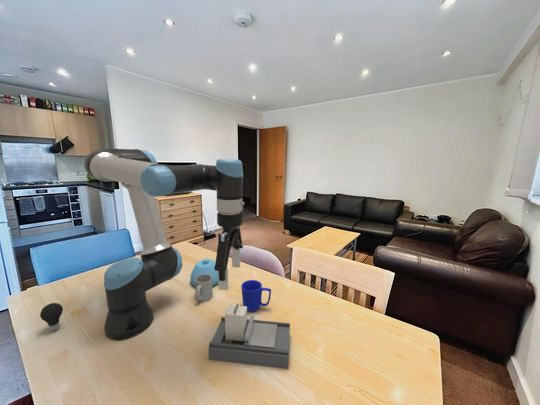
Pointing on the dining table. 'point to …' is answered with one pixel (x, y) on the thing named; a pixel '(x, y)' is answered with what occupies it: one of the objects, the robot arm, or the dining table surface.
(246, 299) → the mug
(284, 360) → the sliding lid box
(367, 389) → the dining table surface
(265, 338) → the plate
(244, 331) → the plug
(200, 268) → the sugar bowl
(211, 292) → the cup
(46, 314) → the light bulb
